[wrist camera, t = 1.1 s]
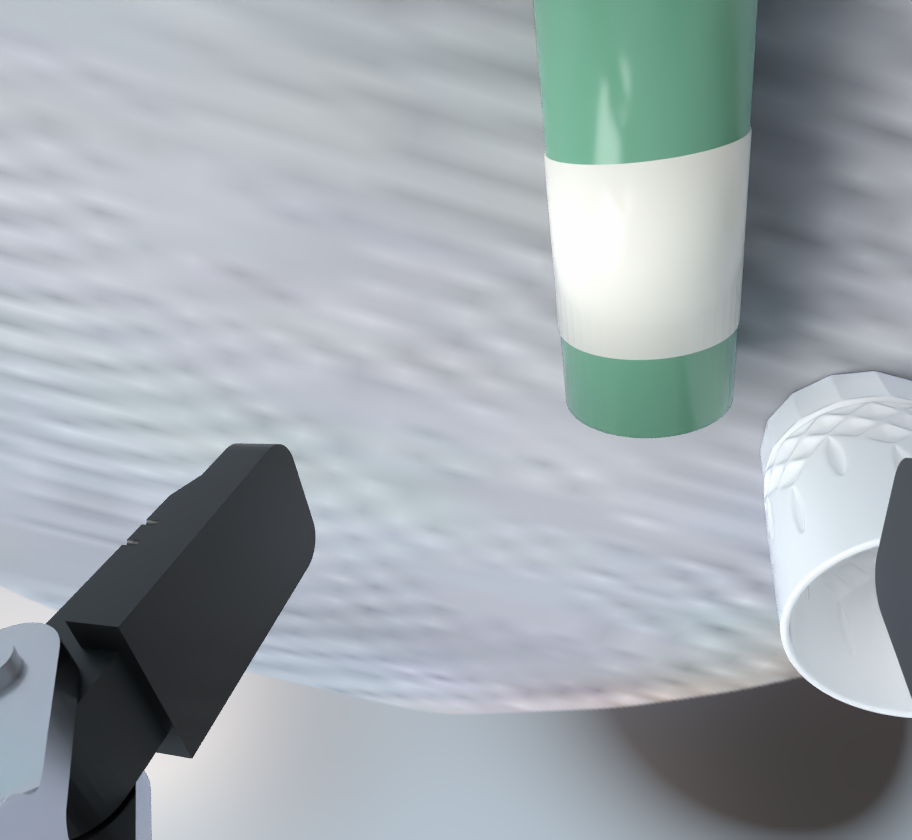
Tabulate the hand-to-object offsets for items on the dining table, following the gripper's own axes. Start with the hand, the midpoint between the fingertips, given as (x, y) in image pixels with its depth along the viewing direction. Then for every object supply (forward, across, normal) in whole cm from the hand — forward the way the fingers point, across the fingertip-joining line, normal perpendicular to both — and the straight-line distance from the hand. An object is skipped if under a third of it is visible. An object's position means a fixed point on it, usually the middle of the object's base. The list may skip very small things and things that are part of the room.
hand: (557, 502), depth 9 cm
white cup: (+19, -9, +11) cm, 24 cm away
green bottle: (+18, 0, -3) cm, 19 cm away
